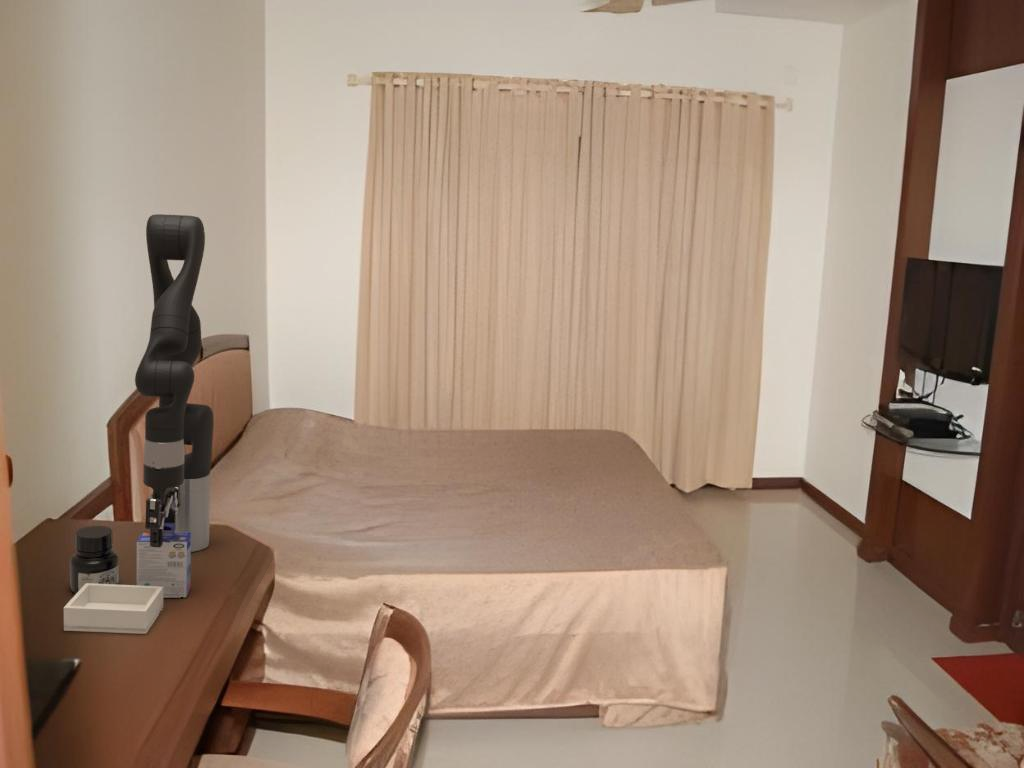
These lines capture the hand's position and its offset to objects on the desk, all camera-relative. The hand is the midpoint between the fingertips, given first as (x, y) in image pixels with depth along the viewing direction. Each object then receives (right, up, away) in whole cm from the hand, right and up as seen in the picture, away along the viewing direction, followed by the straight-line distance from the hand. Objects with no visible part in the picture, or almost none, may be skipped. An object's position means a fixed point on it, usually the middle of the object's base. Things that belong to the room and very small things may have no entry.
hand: (163, 538), depth 183 cm
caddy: (-5, -14, -9) cm, 17 cm away
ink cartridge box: (-1, -12, +3) cm, 12 cm away
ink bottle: (-15, -11, +3) cm, 18 cm away
